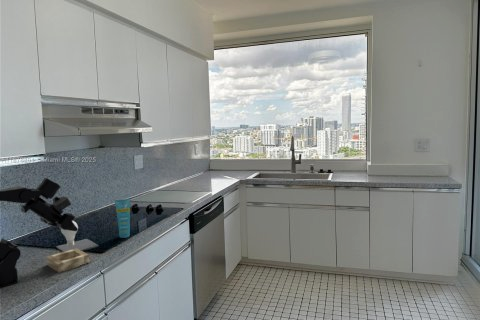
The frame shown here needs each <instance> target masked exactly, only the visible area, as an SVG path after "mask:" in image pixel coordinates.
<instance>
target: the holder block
mask: <svg viewBox="0 0 480 320" xmlns="http://www.w3.org/2000/svg"><path fill="white" fill-rule="evenodd" d="M88 262H89V263H90V254H88V253H86V252H84V251H81V250H79V249H77V248H76V249H72V250H68V251H65V252H62V251H61V252H59V253H54V254H52V255H47V256H46V265H47V266H48V267H50V268H51V269H53V270H54V271H55V272H57V273H58V274H59V273H63V272H66V271H68V269H69V270H72V269H74V268H73V267H75V268H77V267H76V266H78V267H80V266H79V265H82V264H85V263H88ZM89 263H88V264H89ZM85 265H86V264H85ZM82 266H83V265H82ZM71 268H72V269H71ZM65 270H66V271H65ZM62 271H63V272H62Z"/></svg>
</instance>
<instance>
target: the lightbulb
mask: <svg viewBox="0 0 480 320" xmlns="http://www.w3.org/2000/svg"><path fill="white" fill-rule="evenodd" d="M72 222H73V223H74V225H75V226H76V227H77V229H79V226H78V224H77V222H76V221H74V220H73V221H72ZM60 232H61V233H62V235H63V236H64V237H65V239H66V244H67V246H69V247H72V246H73V245H74V242H75V237H76V234H77V232H78V230H77V231H71V230H63V229H60Z"/></svg>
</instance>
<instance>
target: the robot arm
mask: <svg viewBox="0 0 480 320" xmlns="http://www.w3.org/2000/svg"><path fill="white" fill-rule="evenodd" d="M60 189H61V185H59V184H58V183H57V182H54V181H53V180H50V179H49V178H47V177H44V178H43V180H42V181H41V182H40V184H39V185H38V186H37V187H36V188H28V187H25V186H21V185H20V186H14V187H13V186H12V187H7V188H4V189H0V202H9V203H16V204H21V205H20V207H21V208H20V212H22V213H24V214H26V213H28V211H31V212H32V213H34V214H36V216H37V217H39V219H40V222H42V223H43V224H46V225H48V226H51V227H52V226H53V227H55V228H56V227H58V228H59V229H60V230H61V229H63V230H71V231H77V232H78V229H79V228H78V229H77V227H76V226H75V225H74V223H73V222H72V221H74V220H75V219H76V216H75V215H74V214H73V213H69V212H64V210H65V209H66V208H67V207H69V206H71V205H72V201H70V199H69V197H67V196H60V197H59V196H55V195H56V194H57V193H58V192H59V191H60ZM44 199H45V200H44ZM48 199H49V200H52V203H49V202H48V201H47V200H48ZM63 212H64V213H63ZM18 247H19V245H17V244H15V243H13V242H11V241H9V240H7V239H5V238H4V237H3V238H1V239H0V288H5V287H7V286H11V285H14V284H17V283H18V279H19V277H18V276H19V274H18V269H17V267H16V266H17V262H18V260H19V259H20V257H21V255H22V254H21V250H20V249H19V248H18Z"/></svg>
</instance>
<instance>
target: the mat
mask: <svg viewBox="0 0 480 320" xmlns="http://www.w3.org/2000/svg"><path fill="white" fill-rule="evenodd" d="M98 247H99V244H97V243H95V242H93V241H92V240H90V239H88V238H84V239H81V240H76V241H75V240H74V245H73V246H72V247H69V246H67V243H65V244H61V245H56V246H55V248H56V249H58V250H59V251H61V252H65V251H68V250H72V249H76V248H77V249H79V250H81V251H83V252H84V251H87V250H90V249H95V248H98Z"/></svg>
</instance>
